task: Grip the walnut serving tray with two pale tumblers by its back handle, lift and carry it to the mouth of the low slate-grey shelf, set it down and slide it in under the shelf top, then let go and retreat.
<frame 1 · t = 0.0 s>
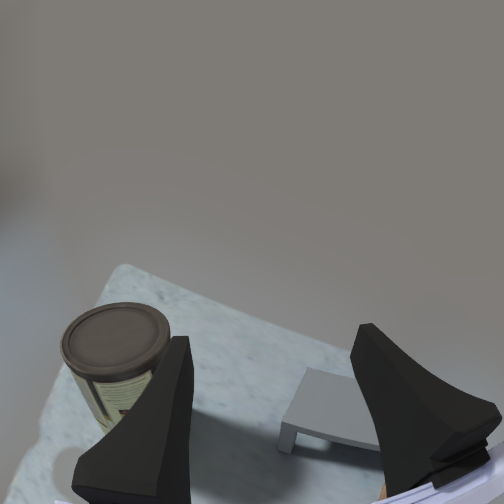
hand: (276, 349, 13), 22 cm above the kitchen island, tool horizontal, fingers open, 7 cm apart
shelf: (353, 440, 29), on the kitchen island
coffee can: (146, 427, 31), on the kitchen island
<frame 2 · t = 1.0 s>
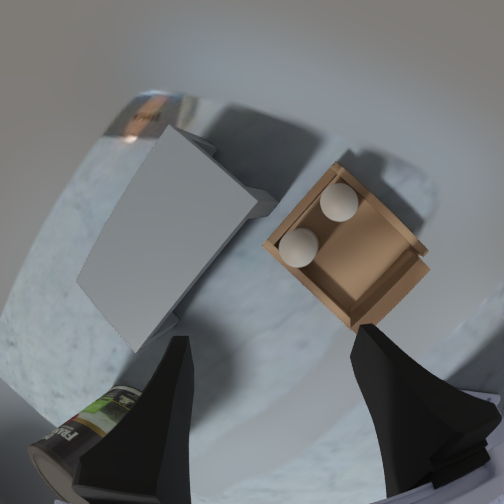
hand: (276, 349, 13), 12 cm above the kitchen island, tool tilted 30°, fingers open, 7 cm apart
shelf: (186, 239, 26), on the kitchen island
tray: (346, 245, 23), on the kitchen island
coffee can: (139, 420, 32), on the kitchen island
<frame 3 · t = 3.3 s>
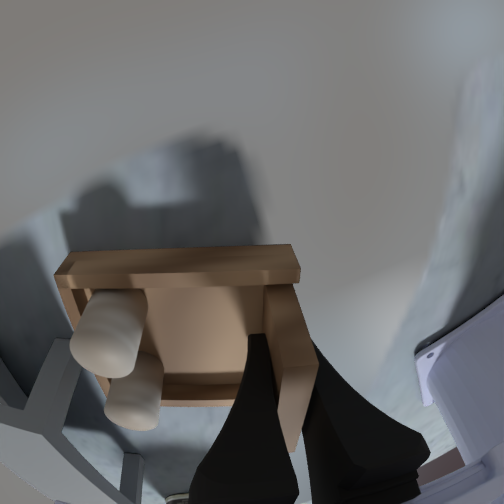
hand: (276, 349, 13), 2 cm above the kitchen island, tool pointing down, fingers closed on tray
shelf: (66, 411, 17), on the kitchen island
tray: (184, 325, 14), on the kitchen island, touching gripper
coffee can: (208, 501, 29), on the kitchen island
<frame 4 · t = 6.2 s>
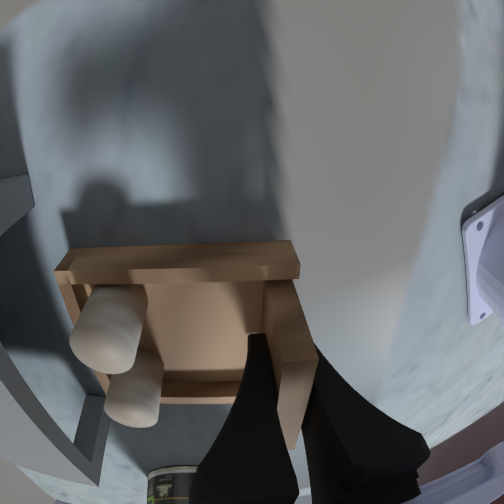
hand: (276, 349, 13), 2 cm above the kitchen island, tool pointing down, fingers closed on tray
shelf: (13, 319, 13), on the kitchen island
tray: (184, 322, 14), on the kitchen island, touching gripper
coffee can: (199, 480, 24), on the kitchen island
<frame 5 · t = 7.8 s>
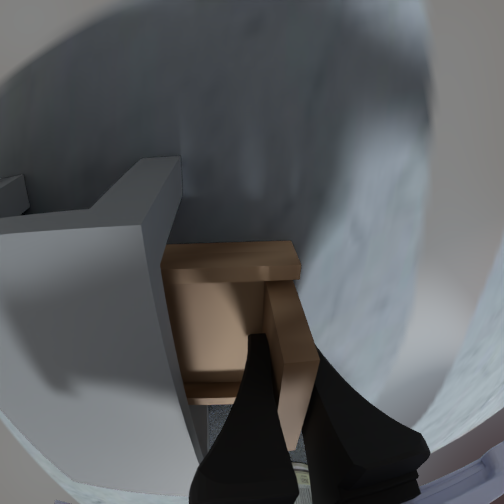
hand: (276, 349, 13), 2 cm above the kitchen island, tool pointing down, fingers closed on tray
shelf: (112, 324, 14), on the kitchen island
tray: (184, 323, 14), on the kitchen island, touching gripper
coffee can: (263, 478, 25), on the kitchen island
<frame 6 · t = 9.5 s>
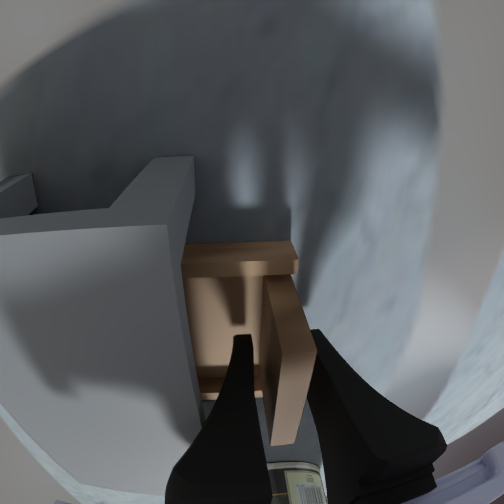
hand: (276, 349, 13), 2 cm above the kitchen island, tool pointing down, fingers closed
shelf: (121, 325, 14), on the kitchen island
tray: (184, 318, 14), on the kitchen island
coffee can: (268, 477, 25), on the kitchen island
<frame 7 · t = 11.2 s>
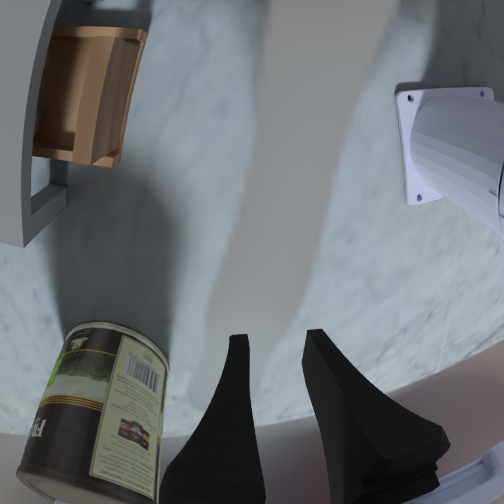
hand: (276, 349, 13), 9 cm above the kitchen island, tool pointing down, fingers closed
shelf: (28, 91, 14), on the kitchen island
tray: (68, 90, 15), on the kitchen island
coffee can: (116, 361, 26), on the kitchen island
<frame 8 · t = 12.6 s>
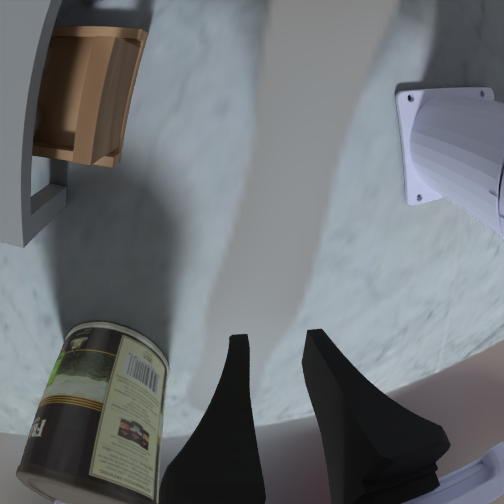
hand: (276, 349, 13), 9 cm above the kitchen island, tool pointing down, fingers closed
shelf: (28, 90, 14), on the kitchen island
tray: (68, 90, 15), on the kitchen island
coffee can: (116, 361, 26), on the kitchen island
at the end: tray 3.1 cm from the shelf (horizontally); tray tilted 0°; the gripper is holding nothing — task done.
